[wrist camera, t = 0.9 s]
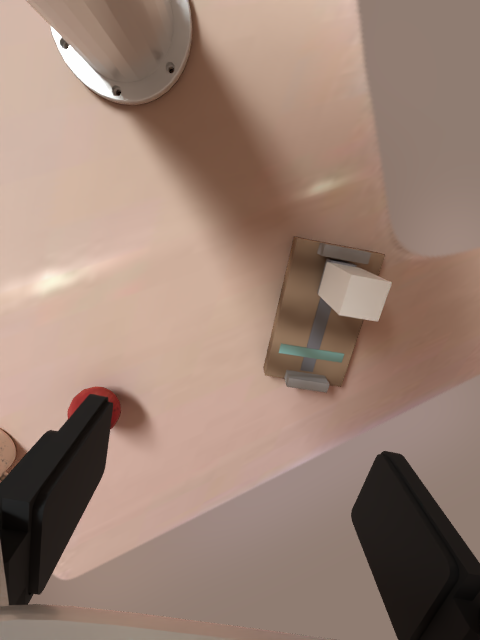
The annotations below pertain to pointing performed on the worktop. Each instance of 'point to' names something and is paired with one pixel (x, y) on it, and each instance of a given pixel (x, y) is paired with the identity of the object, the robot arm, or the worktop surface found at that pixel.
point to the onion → (102, 392)
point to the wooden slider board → (313, 319)
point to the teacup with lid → (6, 454)
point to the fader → (353, 290)
